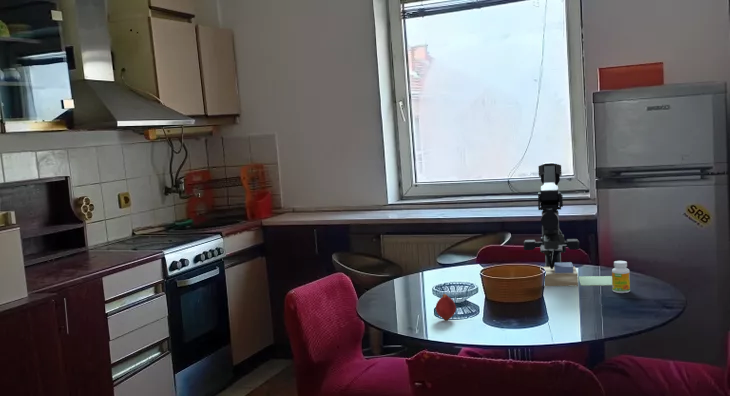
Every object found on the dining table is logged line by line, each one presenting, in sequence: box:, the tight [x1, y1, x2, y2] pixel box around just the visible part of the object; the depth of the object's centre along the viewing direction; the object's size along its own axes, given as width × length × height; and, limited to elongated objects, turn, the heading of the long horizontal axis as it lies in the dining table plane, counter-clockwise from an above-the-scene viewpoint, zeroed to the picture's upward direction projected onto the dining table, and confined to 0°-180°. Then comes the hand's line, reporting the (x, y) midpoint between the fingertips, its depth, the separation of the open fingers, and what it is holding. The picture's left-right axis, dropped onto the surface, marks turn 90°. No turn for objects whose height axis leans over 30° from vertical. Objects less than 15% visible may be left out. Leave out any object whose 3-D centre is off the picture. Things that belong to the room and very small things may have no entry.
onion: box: [435, 293, 457, 321], centre depth 206 cm, size 6×6×8 cm
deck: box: [541, 266, 579, 287], centre depth 245 cm, size 13×12×4 cm
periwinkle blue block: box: [554, 261, 573, 273], centre depth 244 cm, size 8×6×2 cm
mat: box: [578, 275, 612, 287], centre depth 242 cm, size 13×12×1 cm
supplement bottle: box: [611, 260, 631, 294], centre depth 226 cm, size 5×5×10 cm
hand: (551, 268), depth 245 cm, fingers closed
